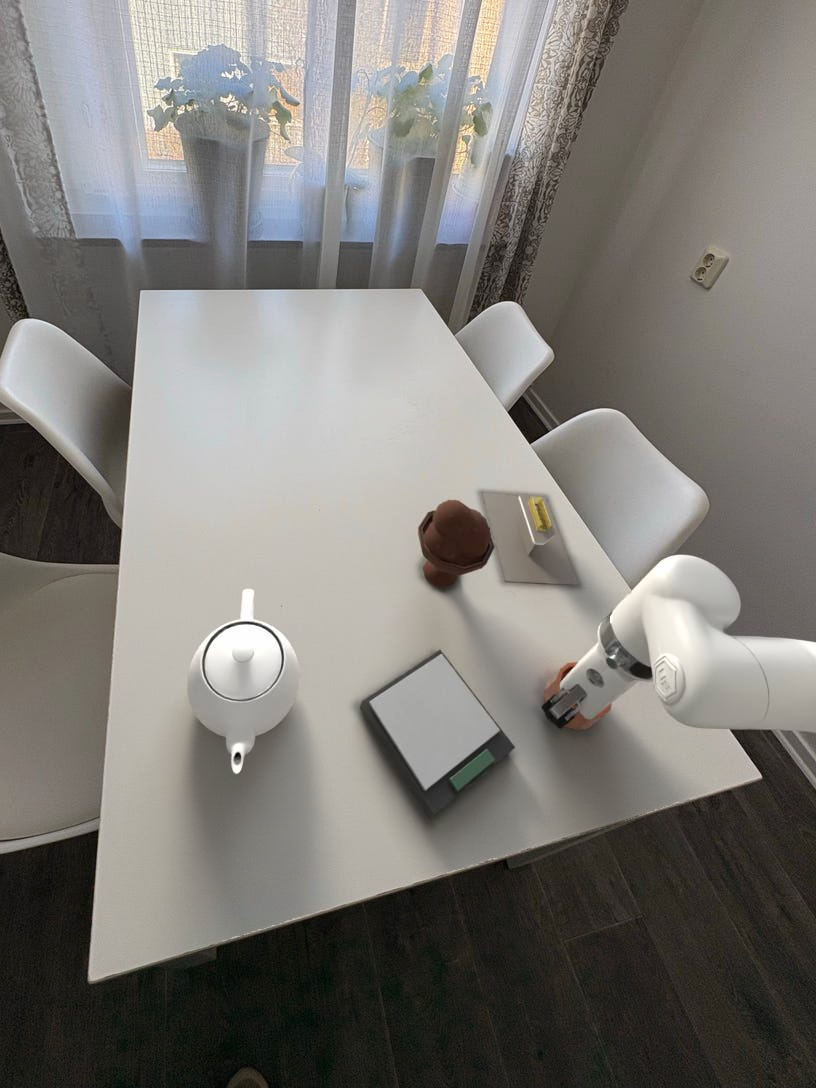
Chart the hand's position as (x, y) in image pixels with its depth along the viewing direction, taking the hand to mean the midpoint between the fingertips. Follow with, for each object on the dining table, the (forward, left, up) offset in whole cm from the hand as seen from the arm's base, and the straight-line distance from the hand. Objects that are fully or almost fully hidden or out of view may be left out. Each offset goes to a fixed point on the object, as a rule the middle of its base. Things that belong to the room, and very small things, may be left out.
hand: (570, 701), depth 70 cm
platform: (+22, -16, -1) cm, 27 cm away
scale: (+7, +18, -1) cm, 19 cm away
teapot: (+23, +36, -1) cm, 43 cm away
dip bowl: (0, 0, -1) cm, 1 cm away
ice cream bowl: (+24, +2, -1) cm, 24 cm away
